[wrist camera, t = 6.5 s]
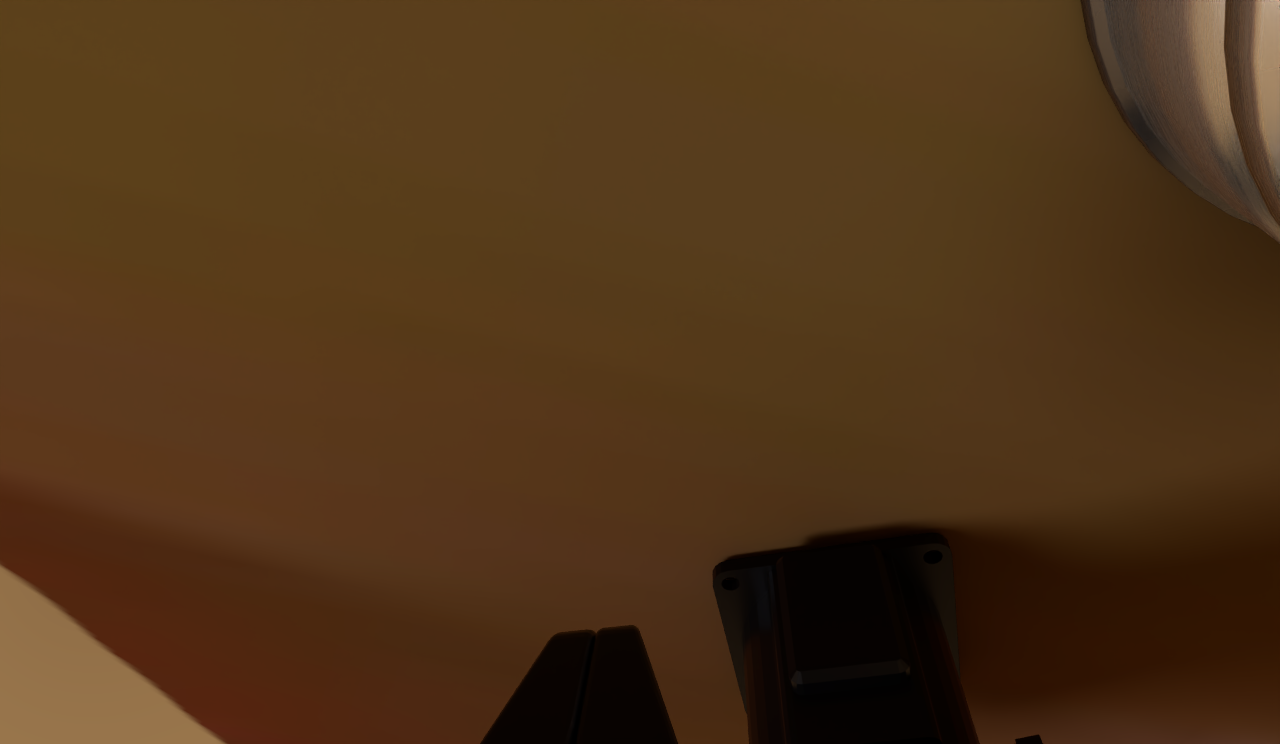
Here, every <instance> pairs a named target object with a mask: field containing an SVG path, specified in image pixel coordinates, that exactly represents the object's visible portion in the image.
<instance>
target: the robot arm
mask: <svg viewBox="0 0 1280 744" xmlns="http://www.w3.org/2000/svg"><path fill="white" fill-rule="evenodd" d="M931 550H937V551H936V552H934V553H931V554H928V553H927V552H928V551H931ZM728 577H733V578H736V579H733V580H726V579H725V578H728ZM713 588H714V592H715V596H716V600H717V604H718V608H719V611H720V615H721V619H722V623H723V627H724V631H725V634H726V638H727V642H728V646H729V650H730V654H731V658H732V661H733V665H734V669H735V673H736V677H737V681H738V685H739V688H740V692H741V696H742V700H743V704H744V708H745V711H746V713H747V719H748V734H749V744H980V743H979V740H978V737H977V734H976V730H975V727H974V724H973V721H972V718H971V714H970V711H969V708H968V705H967V701H966V698H965V695H964V692H963V688H962V685H961V682H960V667H959V652H958V637H957V622H956V606H955V591H954V576H953V561H952V553H951V550H950V547H949V544H948V542H947V539H946V538H945V537H944V536H942V535H940V534H936V533H927V534H919V535H912V536H905V537H897V538H890V539H883V540H875V541H868V542H861V543H853V544H846V545H839V546H831V547H824V548H817V549H809V550H802V551H795V552H787V553H780V554H773V555H765V556H758V557H751V558H743V559H736V560H729V561H724V562H721V563H719V564H718V565H716V566H715V568H714V570H713ZM1015 741H1016V744H1043V743H1042V740H1041V738H1040V736H1039V735H1034V736H1029V737H1024V738H1019V739H1015ZM480 744H678V742H677V739H676V736H675V733H674V730H673V727H672V724H671V721H670V719H669V716H668V713H667V710H666V707H665V704H664V701H663V698H662V695H661V692H660V689H659V686H658V683H657V680H656V678H655V675H654V672H653V669H652V666H651V663H650V660H649V657H648V654H647V651H646V648H645V645H644V642H643V639H642V637H641V634H640V631H639V629H638V628H637V627H636V626H634V625H628V626H618V627H608V628H602V629H600V630H599V631H598V632H597V633H595V632H594V631H593V630H578V631H568V632H560V633H557V634H555V635H554V636H553V637H551V639H550V640H549V641H548V643H547V644H546V646H545V647H544V649H543V650H542V652H541V653H540V655H539V656H538V658H537V659H536V661H535V662H534V664H533V665H532V667H531V668H530V670H529V671H528V673H527V674H526V676H525V677H524V679H523V680H522V682H521V683H520V685H519V686H518V688H517V689H516V691H515V692H514V694H513V695H512V697H511V698H510V700H509V701H508V703H507V704H506V706H505V707H504V709H503V710H502V712H501V713H500V715H499V716H498V718H497V719H496V721H495V722H494V724H493V725H492V727H491V728H490V730H489V731H488V733H487V734H486V736H485V737H484V739H483V740H482V742H481V743H480Z"/></svg>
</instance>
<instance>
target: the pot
mask: <svg viewBox="0 0 1280 744" xmlns="http://www.w3.org/2000/svg"><path fill="white" fill-rule="evenodd" d="M1081 5H1082V11H1083V16H1084V22H1085V27H1086V32H1087V38H1088V41H1089V44H1090V46H1091V49H1092V52H1093V55H1094V58H1095V61H1096V64H1097V67H1098V69H1099V72H1100V75H1101V78H1102V81H1103V83H1104V85H1105V87H1106V89H1107V91H1108V93H1109V94H1110V96H1111V98H1112V100H1113V102H1114V104H1115V105H1116V107H1117V109H1118V111H1119V113H1120V115H1121V117H1122V118H1123V120H1124V122H1125V123H1126V124H1127V126H1128V127H1129V128H1130V130H1131V131H1132V132H1133V133H1134V135H1135V136H1136V137H1137V138H1138V140H1139V141H1140V142H1141V143H1142V145H1143V146H1144V147H1145V148H1146V150H1147V151H1148V152H1149V154H1150V155H1151V156H1152V157H1153V158H1155V159H1156V160H1157V161H1158V162H1159V163H1160V164H1161V165H1162V166H1164V167H1165V168H1166V169H1167V170H1168V171H1169V172H1170V173H1171V174H1173V175H1174V176H1175V177H1176V178H1177V179H1178V180H1179V181H1180V182H1182V183H1183V184H1184V185H1185V186H1187V187H1188V188H1189V189H1190V190H1192V191H1193V192H1194V193H1196V194H1197V195H1199V196H1200V197H1202V198H1204V199H1205V200H1207V201H1209V202H1210V203H1212V204H1213V205H1215V206H1217V207H1218V208H1220V209H1221V210H1223V211H1225V212H1226V213H1228V214H1229V215H1231V216H1233V217H1236V218H1238V219H1241V220H1243V221H1245V222H1248V223H1250V224H1253V225H1255V226H1257V227H1259V228H1260V229H1261V230H1263V231H1264V232H1265V233H1267V234H1268V235H1269V236H1270V237H1272V238H1273V239H1274V240H1276V241H1277V242H1278V243H1280V226H1279V225H1278V224H1277V222H1276V221H1275V220H1274V218H1273V217H1272V216H1271V214H1270V213H1269V211H1268V209H1267V207H1266V205H1265V203H1264V201H1263V199H1262V196H1261V194H1260V192H1259V190H1258V188H1257V186H1256V184H1255V182H1254V180H1253V178H1252V176H1251V174H1250V172H1249V170H1248V168H1247V166H1246V162H1245V159H1244V155H1243V152H1242V148H1241V145H1240V141H1239V138H1238V134H1237V131H1236V127H1235V124H1234V120H1233V116H1232V113H1231V108H1230V99H1229V90H1228V81H1227V72H1226V63H1225V54H1224V25H1225V0H1081Z"/></svg>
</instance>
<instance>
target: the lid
mask: <svg viewBox="0 0 1280 744" xmlns="http://www.w3.org/2000/svg"><path fill="white" fill-rule="evenodd" d="M1224 54H1225V63H1226V72H1227V81H1228V90H1229V99H1230V108H1231V113H1232V116H1233V120H1234V124H1235V127H1236V131H1237V134H1238V138H1239V141H1240V145H1241V148H1242V152H1243V155H1244V159H1245V162H1246V166H1247V168H1248V170H1249V172H1250V174H1251V176H1252V178H1253V180H1254V182H1255V184H1256V186H1257V188H1258V190H1259V192H1260V194H1261V196H1262V199H1263V201H1264V203H1265V205H1266V207H1267V209H1268V211H1269V213H1270V214H1271V216H1272V217H1273V218H1274V220H1275V221H1276V222H1277V224H1278V225H1279V226H1280V0H1225V25H1224Z"/></svg>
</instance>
